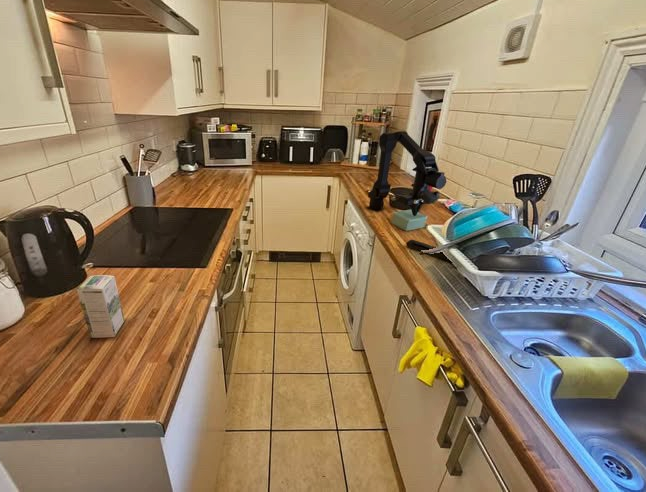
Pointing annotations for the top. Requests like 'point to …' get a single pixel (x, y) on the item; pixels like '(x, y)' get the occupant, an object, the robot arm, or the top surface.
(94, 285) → the syrup box
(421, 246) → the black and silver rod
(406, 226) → the keepsake box
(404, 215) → the lid
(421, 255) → the top surface
